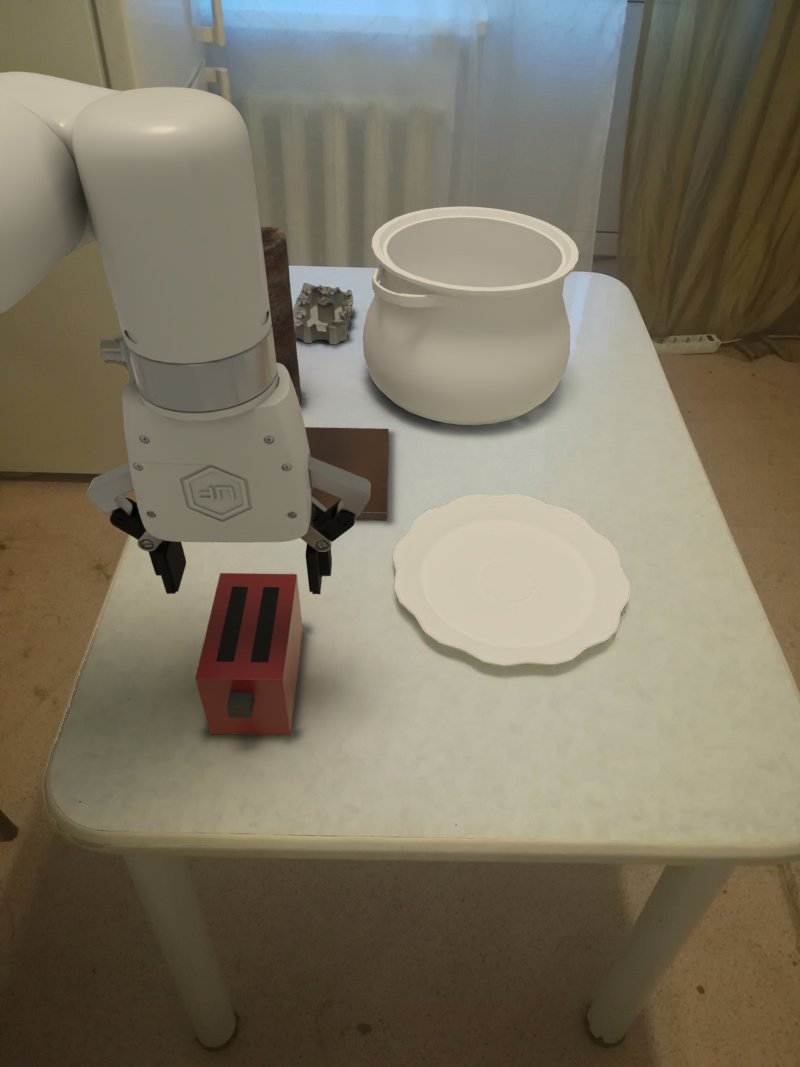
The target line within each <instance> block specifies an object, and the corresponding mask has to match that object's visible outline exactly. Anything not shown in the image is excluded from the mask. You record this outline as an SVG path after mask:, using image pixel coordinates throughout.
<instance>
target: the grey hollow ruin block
mask: <svg viewBox="0 0 800 1067" xmlns="http://www.w3.org/2000/svg"><path fill="white" fill-rule="evenodd" d="M353 307H354V296H353V291H352V289H348V290H346V291H342V290H341V288H340V287H339V286H336V287H335V288H334V287H331V286H329V285H328V286H324V285H321V284H318V286H316V285H314V284H311V283H308V282H303V284H302V287H301V289H300V293H299V294H298V296H297V297H296V300H295V304H294V306H293V318H294V328H295V338H298V339H300V340H302V341H303V342H304V343H305V344H312V343H313V342H314V341H318V340H319V341H322V340H324V341H327V342H328V343H329V344H330V345H337V344H339V343H340V342H343V341H346V340H347V339H348V332H349V328H350V320H351V317H352V315H353V312H352V311H353V310H352V308H353Z"/></svg>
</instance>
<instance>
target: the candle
mask: <svg viewBox="0 0 800 1067" xmlns="http://www.w3.org/2000/svg"><path fill="white" fill-rule="evenodd" d="M260 227H261V235H262V244H263V252H264V261H265V270H266V278H267V287H268V296H269V305H270V314H271V321H272V329H273V338H274V346H275V354H276V363H280V364H283V365H284V366H285V367H286V369H287V370H288V373H289V375H290V378H291V380H292V383H293V386H294V389H295V392H296V395H297V398H298V401H299V405H301V403H302V388H301V376H300V368H299V366H300V365H299V358H298V349H297V348H298V347H297V340H296V327H295V325H294V318H293V309H294V306H293V298H292V289H291V277H290V276H291V275H290V265H289V254H288V243H287V237H286V233H285V231H284V230H283V229H279V228H278V227H274V226H260Z"/></svg>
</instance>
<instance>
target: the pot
mask: <svg viewBox="0 0 800 1067" xmlns="http://www.w3.org/2000/svg"><path fill="white" fill-rule="evenodd" d="M371 251H372V254H373V256H374V259H375V260H376V261H377V262H378V264H379V266H378V267H377V268H376V269H375V270H374V271H373V272H372V276H371V279H372V280H371V289H372V291H373V293H374V295H373V298H372V300H371V302H370V305H369V307H368V309H367V311H366V315H365V320H364V325H363V332H362V346H363V348H362V349H363V358H364V360H365V365H366V367H367V369H368V373H369V375H370V377H371V380H372V381H373V383H374V384H375V386H376V388H378V390H379V391H381V392H382V393H383V394H384V395H385V396H386V397H387V398H388V399H389V400H391V402H393V403H394V404H395V405H396V406H398V407H400V408H402V409H403V410H405V411H406V412H408V413H411V414H413V415H416V416H418V417H420V418H424V419H427V420H431V421H435V422H439V423H443V424H450V425H459V426H480V425H490V424H491V425H492V424H498V423H502V422H505V421H511V420H513V419H516V418H519V417H520V416H521V417H522V416H523V415H526V414H527V413H529V412H530V411H532V410H533V409H535V408H536V407H539V406H540V405H541V404H543V403H545V401H546V400H548V399H549V397H550V396H551V395H552V394H553V393H554V392H555V390H556V389H557V387H558V385H559V383H560V382H561V380H562V378H563V376H564V375H565V372H566V369H567V365H568V361H569V357H570V351H571V325H570V320H569V317H568V313H567V310H566V309H567V308H566V305H565V299H564V296H563V295H564V294H563V293H564V286H565V285H564V284H565V278H567V277H568V276H569V275H570V274H572V273H573V272H574V270H575V268H576V266H577V264H578V261H579V252H580V251H579V249H578V247H577V244H576V242H575V241H574V240H573V239H572V237H570V236H569V234H567V233H566V232H565V231H563V230H561V229H560V228H559V227H557V226H555V225H554V224H551V223H549V222H547V221H545V220H542V219H539V218H537V217H534V216H532V215H531V216H530V215H527V214H523V213H519V212H516V211H511V210H505V209H498V208H493V207H492V208H491V207H483V206H482V207H481V206H443V207H434V208H426V209H419V210H415V211H411V212H407V213H405V214H402V215H399V216H396V217H394V218H392V219H391V220H389V221H387V222H385V223H384V224H383V225H382V226H380V227H379V228H378V229H376V231H375V233H374V234H373V236H372V238H371Z"/></svg>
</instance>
